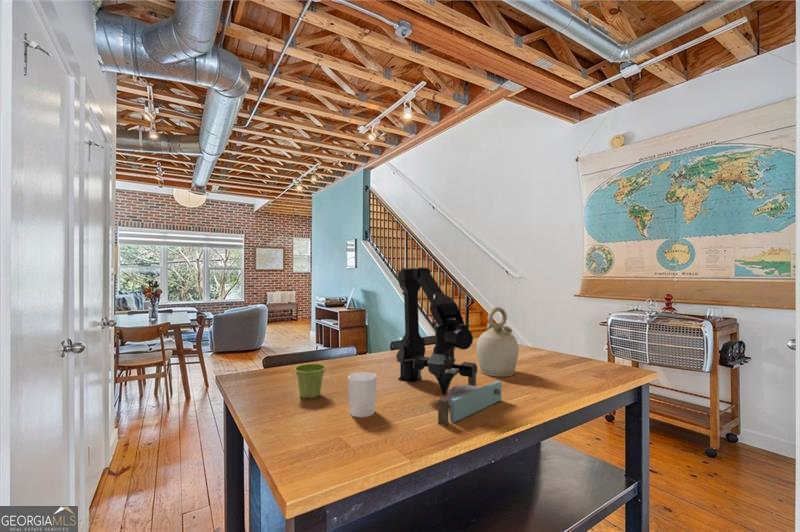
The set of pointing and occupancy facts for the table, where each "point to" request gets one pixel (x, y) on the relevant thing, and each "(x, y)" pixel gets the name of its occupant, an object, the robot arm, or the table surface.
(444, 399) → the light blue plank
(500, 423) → the table surface
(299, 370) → the plant pot
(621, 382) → the table surface
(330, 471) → the table surface
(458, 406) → the gate
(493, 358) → the jug
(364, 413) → the white cup
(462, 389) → the stone block
